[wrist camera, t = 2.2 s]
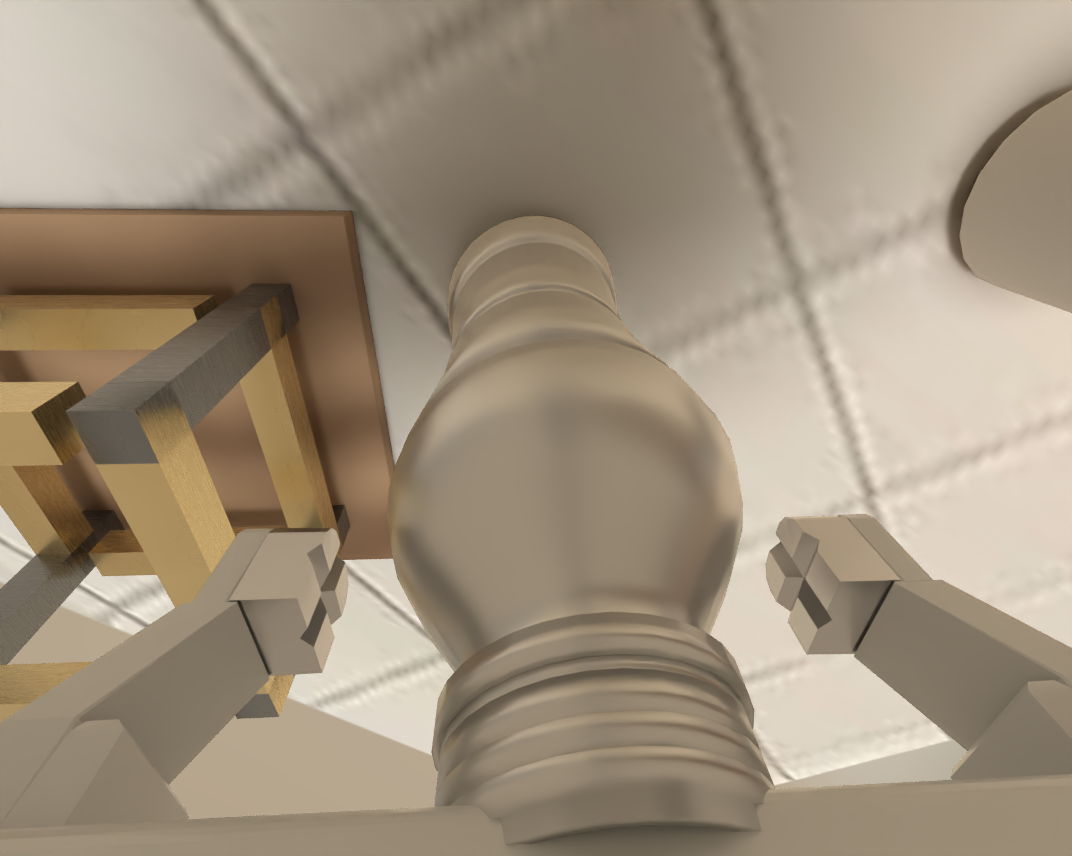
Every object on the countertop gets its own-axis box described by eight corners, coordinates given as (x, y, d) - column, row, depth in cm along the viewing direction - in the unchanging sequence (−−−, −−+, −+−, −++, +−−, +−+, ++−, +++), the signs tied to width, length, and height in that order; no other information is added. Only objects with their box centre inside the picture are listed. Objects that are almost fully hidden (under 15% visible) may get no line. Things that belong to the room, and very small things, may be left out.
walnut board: (-138, 207, 19) (-174, 212, 18) (351, 210, 20) (343, 216, 19) (84, 551, 28) (69, 567, 27) (407, 542, 29) (403, 558, 28)
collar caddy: (-57, 283, 19) (-493, 418, 11) (291, 283, 20) (133, 410, 12) (96, 532, 26) (-98, 732, 18) (350, 526, 27) (279, 716, 18)
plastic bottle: (430, 324, 22) (201, 978, 6) (492, 171, 19) (401, 602, 2) (558, 379, 24) (679, 1000, 7) (633, 247, 21) (1145, 799, 4)
